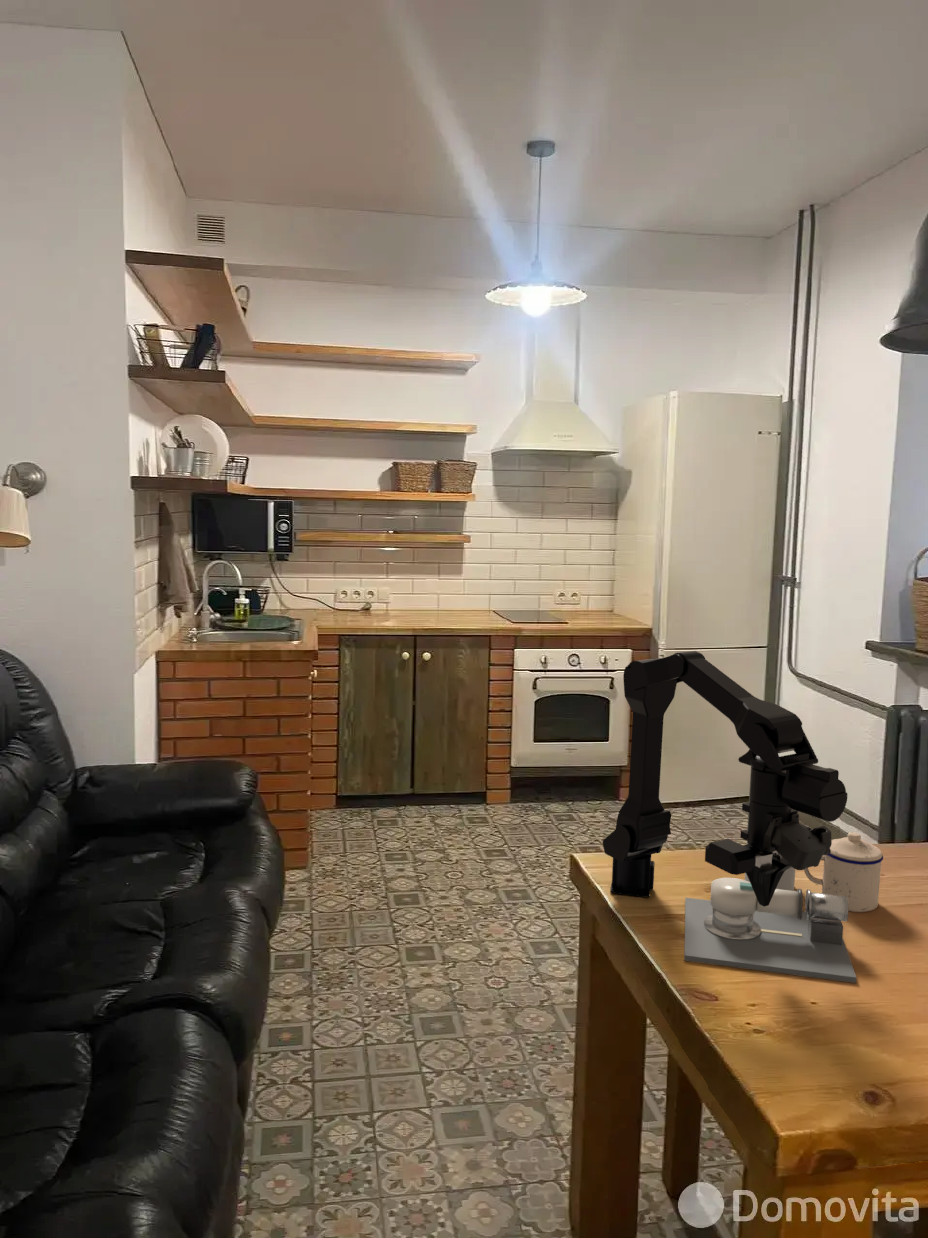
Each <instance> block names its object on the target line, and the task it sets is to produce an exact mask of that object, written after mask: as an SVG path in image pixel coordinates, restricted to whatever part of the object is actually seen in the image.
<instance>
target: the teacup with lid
mask: <svg viewBox="0 0 928 1238" xmlns="http://www.w3.org/2000/svg"><path fill="white" fill-rule="evenodd" d="M831 840H832V844H831V847H830V850H831V853H830V854H827V855H823V856H822V858H821V860H820V861H823V870H822V871H823V873H822V879H821V878H817V877H815V876H813V875H812V874H811V873H810V871H809V867H808V868H805V869H804V870H803V871H804V874H805V876H806V877H807V879H808V880H809V881H810V882H812V883H814V884H816V885H821V894H830V895H839V896H847V899H848V912H854V913H864V912H865V913H866V912H871V911H875V909H876V908H877V907H878V905H879V893H880V883H881V882H880V881H881V871H882V870H881V869H882V868H881V867H882V861H883V860H884V854H883V852H882V851H881V849H880V848H879V847H877V846H875V845H874V844H872V843H869V842H867V841H866V840H864V839H862V835H861V834H859V833H858V832H854V831H852V832H848V834H847V836H845V837H842V838H835V839H831Z"/></svg>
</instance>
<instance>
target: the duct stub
mask: <svg viewBox="0 0 928 1238" xmlns="http://www.w3.org/2000/svg"><path fill="white" fill-rule="evenodd" d="M753 916H754V913H753V914H750V915H743V916H739V915H730V914H726V913H723V912H720V911H718V910H716V909H714V908H713V912H712V915H709V916H707V917H706V918H705V919H704V926H705V928H706V929H707V930H708V931H709V932H711V933H712V934H714V935H717V936H719V937H722V938H726V939H731V940H750V939H754V938H756V937H758V936H759V935H760V933H761V927H760V926H759V925H758V924H757V923H756V922H755V921H753Z"/></svg>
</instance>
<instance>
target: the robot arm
mask: <svg viewBox="0 0 928 1238" xmlns="http://www.w3.org/2000/svg"><path fill="white" fill-rule="evenodd" d="M682 682H683V683H684V684H686V686H687V687H689V688H691V690H692V691H694V692H695V693H697V694H698V695H699V696H700V697H702V699H704V700H705V701H707V702H708V703H709V704H710V706H712V707H714V708H715V709H716V710H717V711H719V712H720V713H721V714H722V715H723V716H725V717H726V718H727V719H729V720H730V722H731V723H732V724H733V726H734V729H735V732H736V735H737V737H738V738H739V739H740V741H742V742H743V743H744V745H745V746H746V747H747V748H748V751H747V752H746V753H744V754H743V755H741V756H739V757H738V762H739V763H741V764H745V765H747V766H750V775H749V776H750V777H749V778H750V779H749V792H748V793H749V796H748V802H744V803H742V805H741V810H742V812H746V813H747V825H746V826H747V828H746V829H744V830H741V831H740V839H743V840H745V841H746V844H741V843H739V842H736V841H734V840H732V839H730V838H725V839H721V840H717V841H713V842H709V843H708V844H706V846H705V848H704V852H705V854H704V862H706V863H707V864H709V865H712V866H714V867H716V868H718V869H720V870H721V871H724V872H726V873H728V874H730V875H733V876H734V875H736V876H739V875H743V874H745V873H746V874H747V876H748V879H749V881H750V883H751V886H752V888H753V890H754V893H755V895H756V898H757V900H758V902H759V904H760V905H762V906H764V907H765V906H768V905H769V903H770V901H771V899H772V897H773V894H774V892H775V890H776V888H777V885H778V883H779V881H780V879H781V877H782V875H783V873H784V872H785V871H786V870H787V869H789V868H791V867H793V868H794V869H795V871H804V869H805V868H808V869H809V868H812V867H813V868H817V867H818V866H819V865H820V862H821V861H822V860H821V858H822V856H823V855H827V854H830V853H831V850H830V847H831V844H832V840H833V839H832V831H831V829H829V828H828V827H826V825H822V826H818V827H814V828H812V827H810V826H807V825H804V824H802V823H800V815H799V813H798V812H800V813H803V814H805V815H808V816H811V817H814V818H816V819H819V820H823V821H825V822H830V823H832V822H835V821H836V820H837V819H839V818H840V817H841V815H843V813H844V811H845V808H846V807H847V801H848V792H847V790H846V785H845V783H844V782H843V781H842V780H841V779H839V775H840V773H839V770H838V769H834V768H830V767H822V766H819V765H817V764H818V763H819V759H818V757H817V755H816V752H815V750H814V749H813V747H812V746H811V745H812V744H811V743H810V740H809V738H808V737H807V735H806V733H805V731H804V729H803V721H802V720H801V719H800V717H799V716H798V715H797V714H796V713H794V712H792V711H790V710H788V709H786V708H784V707H782V706H781V705H778V704H776V703H773V702H770V701H766V700H763V699H759V698H758V697H756V696H754V695H753V694H752V693H750V692H749V691H747V690H746V689H745V688H744V687H742V686H741V685H740V684H738V683H737V682H736V681H735V680H733V679H732V678H730V677H729V676H727V675H726V674H725V673H724V672H723V671H721V670H720V669H719V668H717V667H716V666H715V665H714V664H712V663H711V662H709V661H708V660H707V659H706V657H705V655H703V653H701V652H698V651H697V650H691V651H680V652H679V651H678V652H674V653H673V654H671V655H667V656H666V657H659V658H649V659H648V658H647V659H639V660H633V661H631V662H629V663H628V664H627V666H625V668H624V670H623V692H624V698H625V700H626V701H627V704H628V705H629V707H630V709H631V711H632V723H631V725H632V726H631V727H632V728H631V743H630V744H631V745H630V759H629V761H630V762H629V779H628V780H629V782H628V795H627V798H626V799H625V801H624V803H623V804H622V806H621V808H620V809H619V811H618V813H617V819H616V824H615V829H614V830H613V831H612V832H610V834H608V836H606V837H605V838H604V839H603V840H602V846H603V850H604V851H603V852H604V854H605V855H607V856H609V857H610V858H612V865H611V866H612V869H611V870H612V872H611V873H612V874H611V884H610V887H609V888H610V889H609V892H610V893H611V894H615V895H616V894H617V895H624V896H625V895H626V896H634V897H643V898H649V897H650V895H651V891H652V890H654V885H655V884H654V883H655V865H656V864H655V861H654V860H652V855H653V854H654V855H655V854H660V853H661V851H662V849H663V845H664V844H665V843H667V840H668V837H669V835H672V832H671V820H672V819H671V818H672V813H671V811H670V810H666V809H665V808H664V806H663V804H662V801H661V800H660V784H661V771H662V770H661V769H662V767H661V766H662V754H663V753H662V750H663V734H664V733H663V732H664V717H665V713H666V711H667V710H668V708H669V707H670V705H671V703H672V702H673V700H674V699H675V694H676V689H677V686H678V685H677V684H679V683H682ZM792 751H793V752H794V753H792V754H791V753H790V754H787V755H781V756H780V755H779V754H781V753H786V752H787V753H788V752H792ZM747 843H748V844H747Z"/></svg>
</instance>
